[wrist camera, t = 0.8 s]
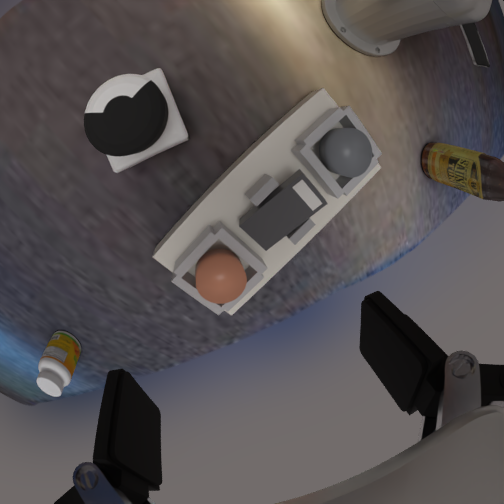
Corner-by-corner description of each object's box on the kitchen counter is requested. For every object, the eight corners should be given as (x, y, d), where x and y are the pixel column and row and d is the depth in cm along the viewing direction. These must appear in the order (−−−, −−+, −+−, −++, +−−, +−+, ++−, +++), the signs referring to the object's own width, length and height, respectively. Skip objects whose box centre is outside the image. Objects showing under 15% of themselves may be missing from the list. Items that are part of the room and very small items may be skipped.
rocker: (299, 168, 25) (302, 173, 24) (323, 197, 27) (327, 203, 25) (239, 218, 28) (238, 226, 26) (265, 242, 30) (265, 251, 28)
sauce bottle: (414, 149, 32) (529, 178, 15) (436, 136, 32) (541, 158, 14) (424, 187, 35) (528, 229, 17) (445, 171, 35) (542, 206, 17)
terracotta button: (217, 239, 27) (220, 248, 25) (251, 268, 29) (257, 279, 27) (185, 273, 28) (185, 284, 25) (220, 298, 30) (222, 311, 28)
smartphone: (467, 7, 21) (490, 67, 27) (464, 8, 22) (486, 67, 28) (450, 0, 21) (476, 64, 27) (446, 1, 22) (472, 65, 28)
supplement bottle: (79, 359, 35) (65, 404, 26) (51, 346, 33) (33, 389, 24) (83, 338, 33) (66, 385, 24) (54, 324, 31) (31, 368, 23)
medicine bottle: (190, 139, 27) (188, 136, 16) (131, 167, 26) (94, 183, 16) (167, 83, 24) (152, 47, 13) (109, 111, 23) (61, 97, 13)
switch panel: (312, 91, 27) (335, 83, 22) (367, 164, 32) (395, 171, 27) (155, 246, 31) (149, 268, 25) (228, 302, 36) (234, 329, 30)
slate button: (341, 118, 25) (353, 118, 22) (366, 154, 27) (379, 156, 24) (309, 148, 25) (320, 149, 23) (337, 183, 27) (349, 187, 25)
